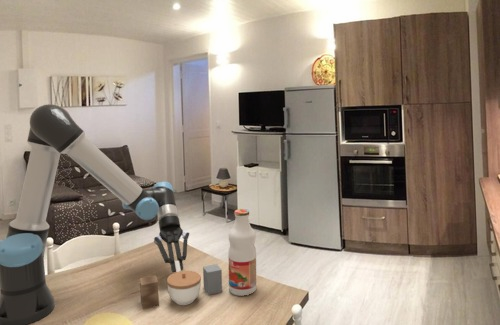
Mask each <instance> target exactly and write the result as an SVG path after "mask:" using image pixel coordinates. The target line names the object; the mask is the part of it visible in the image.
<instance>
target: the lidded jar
mask: <svg viewBox="0 0 500 325" xmlns="http://www.w3.org/2000/svg"><path fill="white" fill-rule="evenodd" d="M201 278H202V277H201V274H200V273H198V272H197V271H193V270H183V271H179V272H176V273H175V272H172V274H170V275H169V276H167V279H166V285H167V291H168V294H169V297H170V299H171V300H172V301H173V302H174V303H175V304H177V305H179V306H187V305H191V304H193V303H194V302H195V300H196V299H197V298H198V296H199V294H200V291H201V286H202V285H201V284H202V282H201Z"/></svg>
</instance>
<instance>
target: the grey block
mask: <svg viewBox="0 0 500 325" xmlns="http://www.w3.org/2000/svg"><path fill="white" fill-rule="evenodd" d="M202 271H203V272H202V273H203V275H202V276H203V278H202V280H203V290H204V292H206V294H207V296H211V295H214V294H219V293H222V292H223V278H222V274H223V273H222V268H221V267H220V266H219V265H218V264H217V263H216V264H211V265H204V266H202Z"/></svg>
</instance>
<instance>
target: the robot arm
mask: <svg viewBox="0 0 500 325" xmlns="http://www.w3.org/2000/svg"><path fill="white" fill-rule="evenodd" d="M29 126H30V127H29V131H28V135H27V136H28V137H27V141H26V142H27V143H28V145H29V146H30V152H29V157H28V162H27V167H26V169H25V170H26V172H25V176H24V180H23V185H22V190H21V194H20V199H19V203H18V207H17V208H18V209H17V214H16V216H15V219H13V220H12V221H10V222H9V224H8V229H7V233H6V237H5V238H4V239H2V240H0V325H29V324H33V323H34V322H37V321H39V320H41V319H43V318H45V317H47V316H48V315H49V314H51V313H52V311H53V310H54V309H55V298H54V296H53V295H52V292H51V291H50V289H49V287H48V285H47V282H46V270H45V250H46V246H47V240H48V236H49V231H50V224H49V223H48V221H47V217H48V212H49V207H50V204H51V198H52V194H53V189H54V185H55V180H56V175H57V173H58V172H57V171H58V165H59V162H60V156H61V154H62V155H63V154H65V155H67V156H68V157H70V159H72V161H74V162H75V163H77V165H79V166H80V167H81V168H82V169H84V170H85V171H86V172H87V173H89V175H90V176H92V177H93V178H94V179H95V180H96V181H98V182H99V184H101V185H102V186H104V187H105V188H106V189H107V191H110V192H111V193H112V194H113V195H114V196H115V197H116V198H117V199H118V200H120V201H121V206H122V208H123V210H131V211H133V213H135V214H136V216H137V217H138V218H140V219H141V220H144V221H149V220H153V219H155V217H157V220H158V226H159V228H158V229H159V234H158V236H155V237H154V238H153V243H155V245H156V246H157V247H158V250H159V252H160V254H161V256H162V259H163V261H164V263H165V264H169V265H170V268H171V272H172V273H176V272H179V271H184V264H183V261H186V258H187V257H188V256H187V254H188V253H187V252H188V239H189V237H190V232H184V231H183V229H182V227H181V223H180V222H181V221H180V218H179V213H178V208H177V202H176V198H175V191H174V187H173V186H172V184H171V182H168V181H160V182H157V183H155V184H154V185H153V187H152V188H142V187H141V186H140V185H139V184H138V183H137V182H135V180H134V179H132V178H131V177H130V176H129V175H128V174H127V173H126V172H124V170H123V169H122V168H120V166H118V165H117V164H116V163H115V162H114V161H113V160H111V159H110V158H109V157H108V156H107V155H106V154H105V153H104V152H102V151H101V150H100V149H99V148H98V147H97V146H96V145H95V144H94V143H93V142H91V141H90V140H89V139H88V138H87V137H86V136H85V131H84V130H83V129H82V128H81V127H80V126H79V125H78V124H77V123H76V121H75V120H74V119H73V118H72V116H71V115H70V114H69V112H68V111H67V110H66V109H65V108H63V107H61V106H59V105H57V104H50V103H49V104H43V105H41V106H38V107H37V108H36V109H34V110H33V112H32V113H31V115H30V118H29ZM181 237H182V239H183V242H182V252H181V248H180V241H179V240H180V239H181ZM162 240H163V241H164V242H165V243H166V247H167V251H166V249H165V247H164V244H163V242H162ZM173 245H174V248H173ZM173 249H175V255H176V260H175V255H174V250H173ZM167 252H168V253H167Z"/></svg>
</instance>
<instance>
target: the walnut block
mask: <svg viewBox="0 0 500 325" xmlns="http://www.w3.org/2000/svg"><path fill="white" fill-rule="evenodd" d="M139 290H140V303H141V307H142V310H146V309H150V308H155V307H160V297H159V281H158V279H157V275H156V274H155V275H149V276H145V277H140V278H139Z"/></svg>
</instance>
